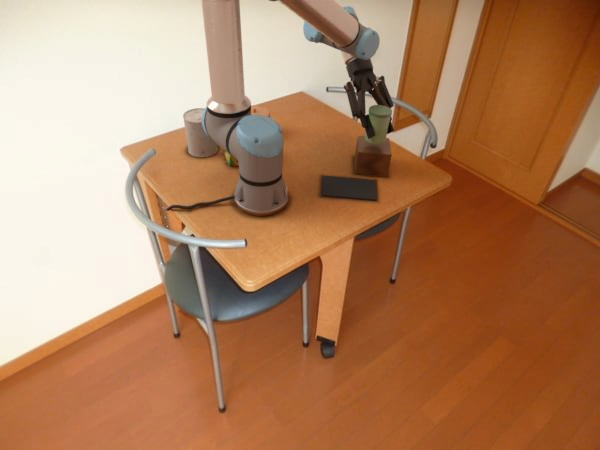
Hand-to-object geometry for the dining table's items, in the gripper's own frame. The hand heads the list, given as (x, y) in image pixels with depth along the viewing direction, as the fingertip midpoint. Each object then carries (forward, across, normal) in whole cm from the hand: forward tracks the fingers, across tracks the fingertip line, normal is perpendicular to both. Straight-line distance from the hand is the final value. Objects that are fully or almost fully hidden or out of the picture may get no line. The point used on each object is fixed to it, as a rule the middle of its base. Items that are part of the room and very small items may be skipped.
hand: (381, 134), depth 124 cm
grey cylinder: (-15, +44, -34) cm, 58 cm away
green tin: (0, 0, -3) cm, 3 cm away
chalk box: (-8, +36, -26) cm, 45 cm away
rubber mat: (+12, +13, -6) cm, 19 cm away
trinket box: (-18, +24, -36) cm, 47 cm away
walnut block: (+7, 0, -11) cm, 13 cm away
